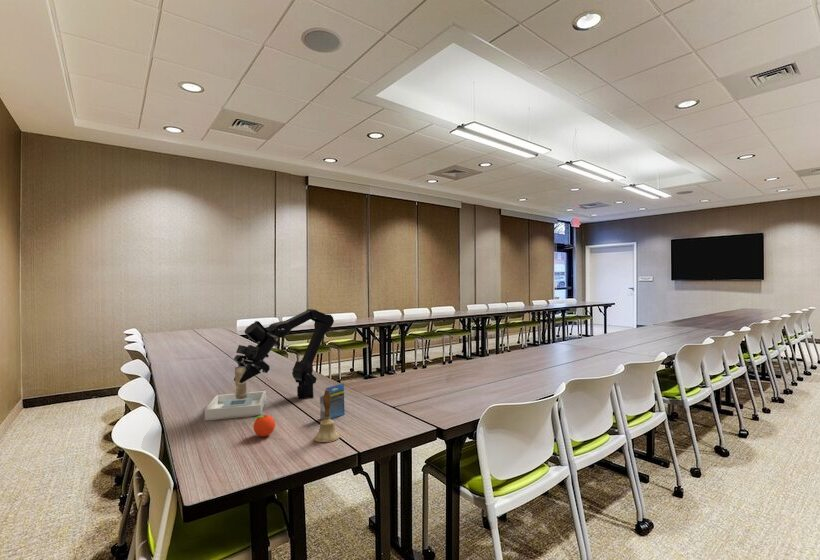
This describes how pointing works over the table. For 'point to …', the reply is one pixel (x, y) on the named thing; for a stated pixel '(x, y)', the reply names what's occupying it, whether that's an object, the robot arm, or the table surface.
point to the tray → (237, 410)
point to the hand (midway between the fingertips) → (237, 381)
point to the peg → (240, 387)
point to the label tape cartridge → (334, 402)
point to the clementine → (264, 425)
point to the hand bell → (327, 423)
